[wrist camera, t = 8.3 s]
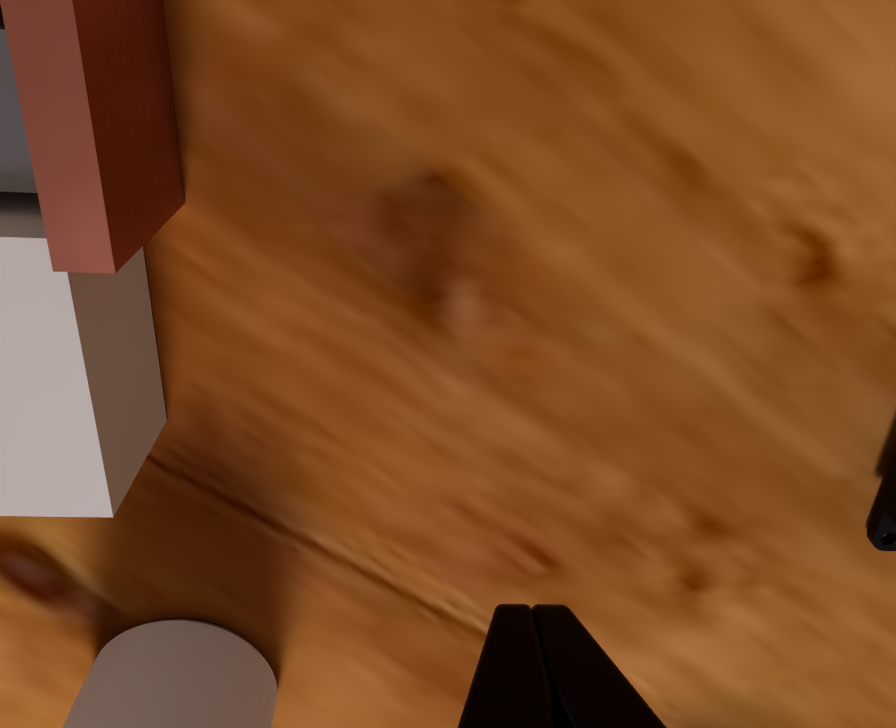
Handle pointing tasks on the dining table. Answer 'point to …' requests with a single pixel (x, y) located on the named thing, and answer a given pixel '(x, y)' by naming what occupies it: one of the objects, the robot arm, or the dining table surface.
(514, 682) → the robot arm
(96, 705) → the can
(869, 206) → the dining table surface
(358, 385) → the dining table surface
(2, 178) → the l-shaped block
